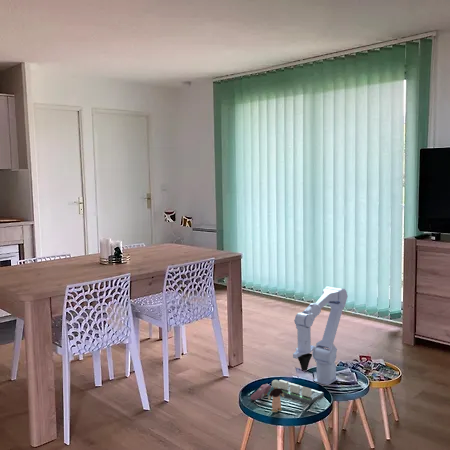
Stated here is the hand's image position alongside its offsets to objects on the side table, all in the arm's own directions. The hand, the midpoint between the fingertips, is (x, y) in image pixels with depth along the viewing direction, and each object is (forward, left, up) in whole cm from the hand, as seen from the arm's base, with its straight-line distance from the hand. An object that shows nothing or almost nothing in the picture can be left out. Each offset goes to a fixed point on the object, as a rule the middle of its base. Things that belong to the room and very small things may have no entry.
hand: (304, 370), depth 226 cm
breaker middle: (+8, 0, -8) cm, 11 cm away
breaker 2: (+7, +6, -7) cm, 12 cm away
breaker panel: (+5, 0, -9) cm, 11 cm away
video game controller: (+18, -10, -10) cm, 23 cm away
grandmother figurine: (+24, +2, -10) cm, 26 cm away
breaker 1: (+7, -6, -7) cm, 12 cm away
